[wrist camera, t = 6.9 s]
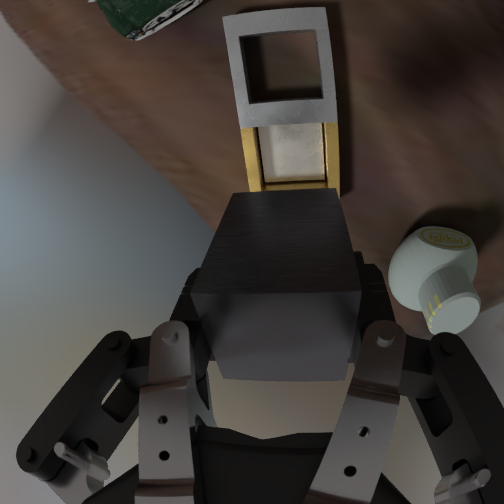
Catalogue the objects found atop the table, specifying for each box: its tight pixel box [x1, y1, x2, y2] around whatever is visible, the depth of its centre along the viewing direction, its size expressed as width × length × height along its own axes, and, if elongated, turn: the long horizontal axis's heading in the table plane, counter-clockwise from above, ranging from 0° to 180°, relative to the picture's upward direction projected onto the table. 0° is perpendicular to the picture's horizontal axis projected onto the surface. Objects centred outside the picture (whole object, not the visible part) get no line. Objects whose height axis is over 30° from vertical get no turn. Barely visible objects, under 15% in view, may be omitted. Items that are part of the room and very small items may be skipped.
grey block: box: [190, 188, 362, 381], centre depth 11 cm, size 5×5×6 cm
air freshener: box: [388, 226, 481, 335], centre depth 26 cm, size 11×8×10 cm
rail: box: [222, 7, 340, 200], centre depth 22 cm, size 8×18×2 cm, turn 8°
